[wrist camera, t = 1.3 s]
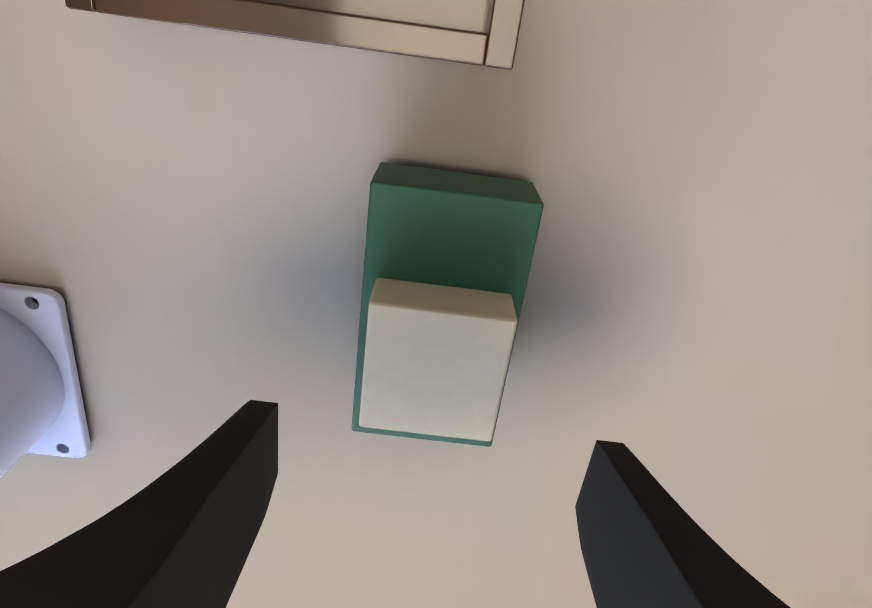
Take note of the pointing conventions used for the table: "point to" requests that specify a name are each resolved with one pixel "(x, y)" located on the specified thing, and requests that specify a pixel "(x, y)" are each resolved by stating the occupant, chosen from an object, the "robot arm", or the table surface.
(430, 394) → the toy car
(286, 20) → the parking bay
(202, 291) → the table surface
